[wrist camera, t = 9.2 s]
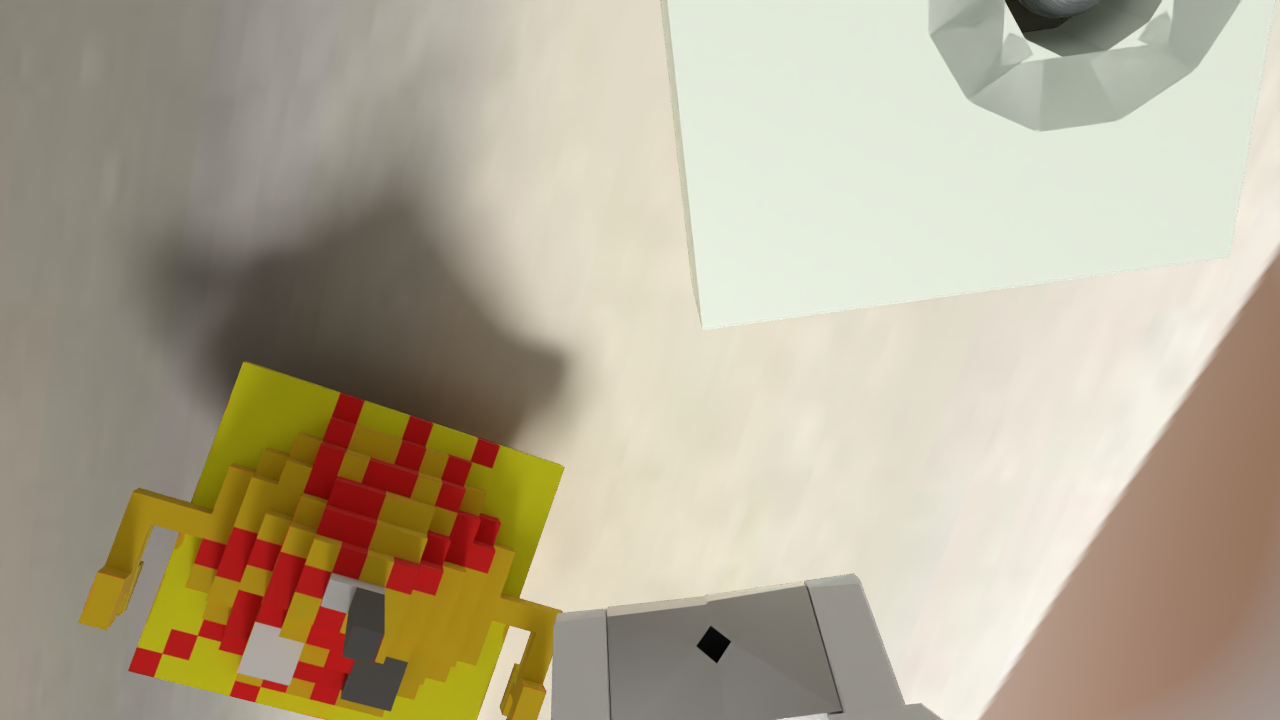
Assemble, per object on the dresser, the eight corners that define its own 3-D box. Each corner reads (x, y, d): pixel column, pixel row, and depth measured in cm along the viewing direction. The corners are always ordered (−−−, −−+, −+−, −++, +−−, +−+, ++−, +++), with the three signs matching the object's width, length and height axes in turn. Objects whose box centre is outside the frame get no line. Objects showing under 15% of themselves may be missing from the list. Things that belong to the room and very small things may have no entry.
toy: (132, 599, 36) (-43, 778, 21) (227, 344, 36) (121, 346, 22) (488, 693, 39) (549, 904, 24) (569, 457, 40) (677, 525, 25)
